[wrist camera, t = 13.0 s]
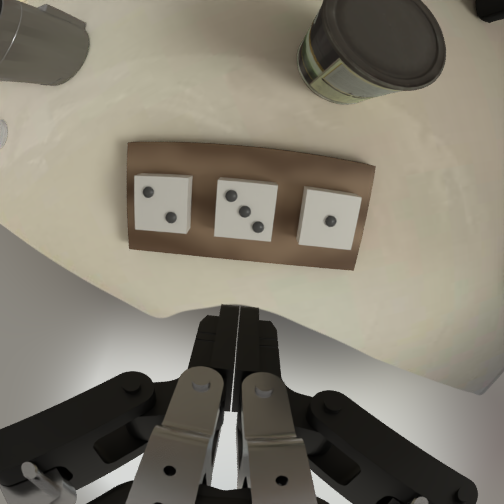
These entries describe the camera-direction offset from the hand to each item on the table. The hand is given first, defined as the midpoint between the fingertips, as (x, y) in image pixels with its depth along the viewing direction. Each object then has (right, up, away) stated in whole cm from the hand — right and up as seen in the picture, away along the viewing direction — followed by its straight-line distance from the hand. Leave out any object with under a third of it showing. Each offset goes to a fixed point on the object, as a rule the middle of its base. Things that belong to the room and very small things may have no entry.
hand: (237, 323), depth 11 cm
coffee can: (+11, +24, +15) cm, 31 cm away
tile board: (0, +9, +21) cm, 23 cm away
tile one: (+9, +7, +20) cm, 23 cm away
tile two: (-9, +9, +19) cm, 23 cm away
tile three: (0, +8, +19) cm, 21 cm away
